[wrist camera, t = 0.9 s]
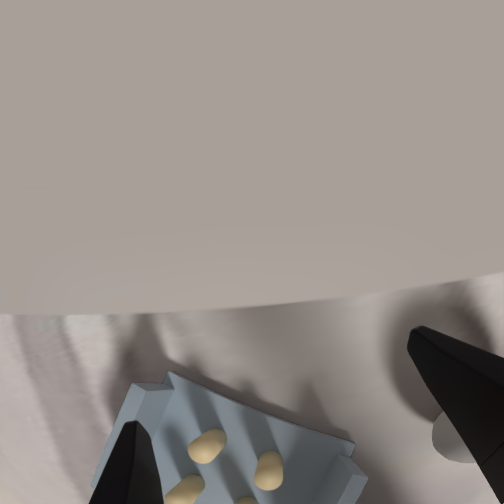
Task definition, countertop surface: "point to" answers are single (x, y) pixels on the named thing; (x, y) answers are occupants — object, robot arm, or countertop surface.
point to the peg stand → (234, 450)
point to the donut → (449, 441)
